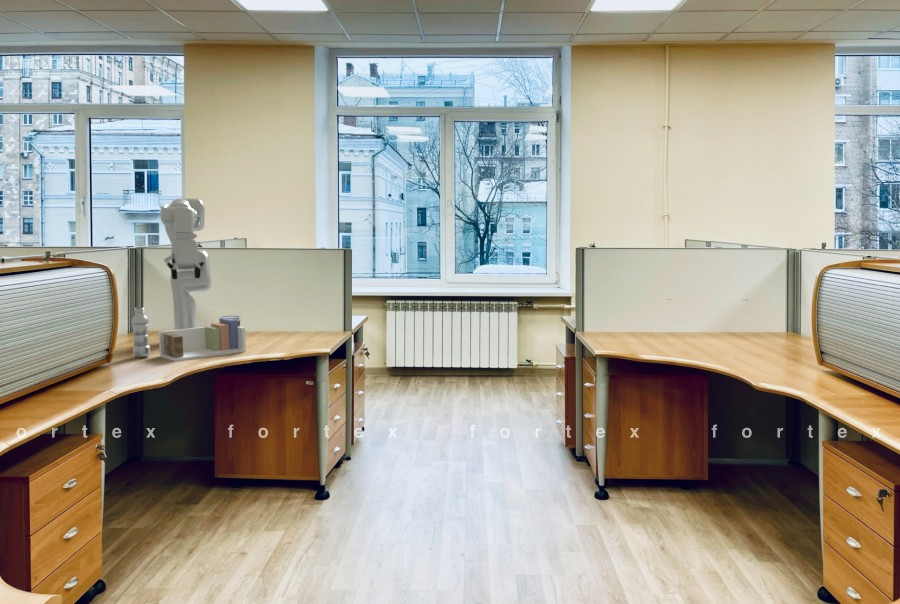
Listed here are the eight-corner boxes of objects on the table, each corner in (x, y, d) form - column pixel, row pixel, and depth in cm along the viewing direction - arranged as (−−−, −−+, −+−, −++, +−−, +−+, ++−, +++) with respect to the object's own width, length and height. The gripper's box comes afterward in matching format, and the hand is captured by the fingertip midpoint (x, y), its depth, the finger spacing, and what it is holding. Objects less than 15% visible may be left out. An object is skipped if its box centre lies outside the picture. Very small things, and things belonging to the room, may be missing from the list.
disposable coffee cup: (235, 345, 312) (234, 318, 311) (215, 344, 314) (214, 318, 312) (245, 341, 321) (245, 315, 320) (226, 341, 323) (225, 315, 322)
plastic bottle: (144, 355, 290) (141, 306, 288) (154, 356, 286) (151, 307, 284) (129, 357, 285) (127, 308, 283) (139, 359, 281) (136, 309, 279)
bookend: (164, 353, 287) (163, 333, 286) (171, 352, 289) (170, 333, 288) (175, 357, 279) (174, 337, 278) (183, 356, 281) (182, 336, 280)
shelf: (159, 356, 288) (158, 324, 286) (229, 347, 308) (227, 317, 307) (175, 361, 277) (173, 328, 275) (245, 351, 298) (244, 320, 296)
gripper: (199, 237, 301) (201, 277, 302) (159, 237, 289) (161, 279, 290) (208, 236, 296) (210, 277, 297) (167, 237, 283) (169, 279, 285)
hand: (186, 278), depth 294 cm, fingers open, 9 cm apart
